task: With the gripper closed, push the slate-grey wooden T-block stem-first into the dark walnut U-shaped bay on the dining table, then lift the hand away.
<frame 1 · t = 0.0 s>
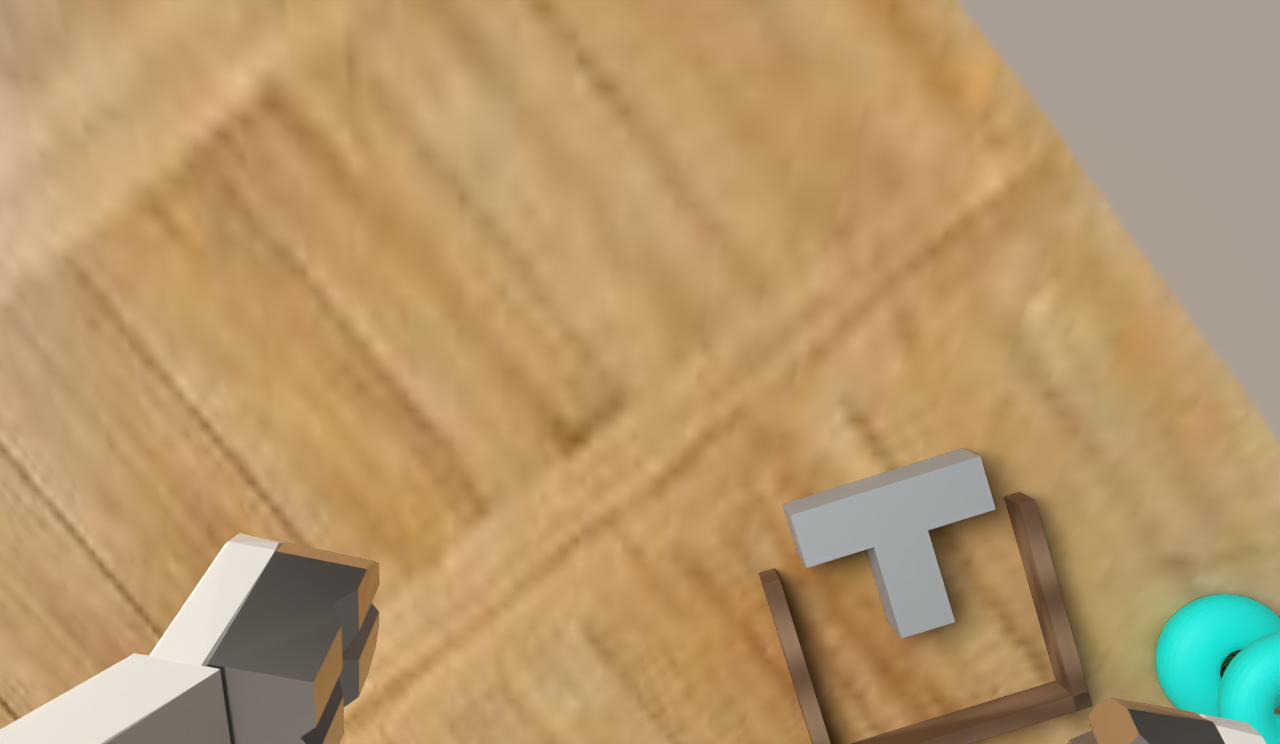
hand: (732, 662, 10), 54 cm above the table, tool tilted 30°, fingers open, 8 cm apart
donuts: (1210, 651, 67), on the table
T-block: (886, 526, 65), on the table
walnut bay: (916, 625, 66), on the table
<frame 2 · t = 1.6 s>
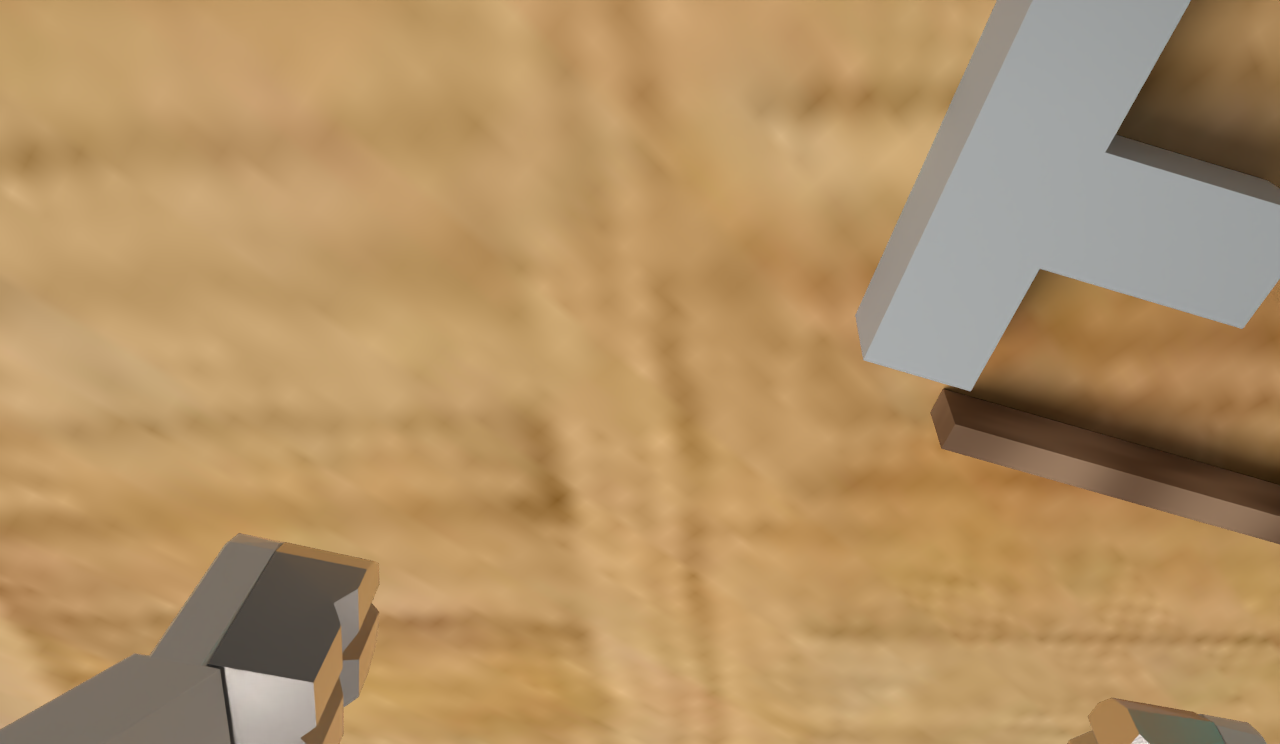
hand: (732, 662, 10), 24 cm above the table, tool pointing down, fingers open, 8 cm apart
T-block: (1041, 176, 30), on the table
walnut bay: (1257, 241, 30), on the table
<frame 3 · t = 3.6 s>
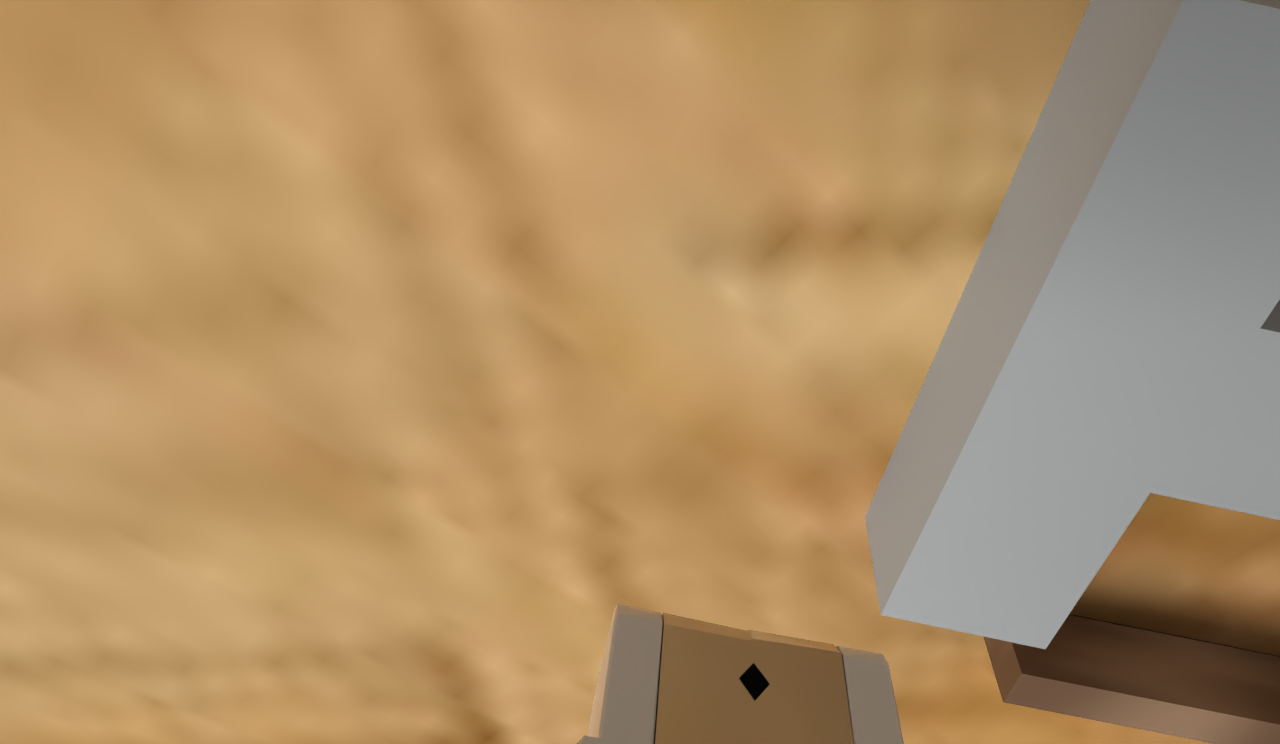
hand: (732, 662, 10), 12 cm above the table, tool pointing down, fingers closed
T-block: (1134, 326, 20), on the table
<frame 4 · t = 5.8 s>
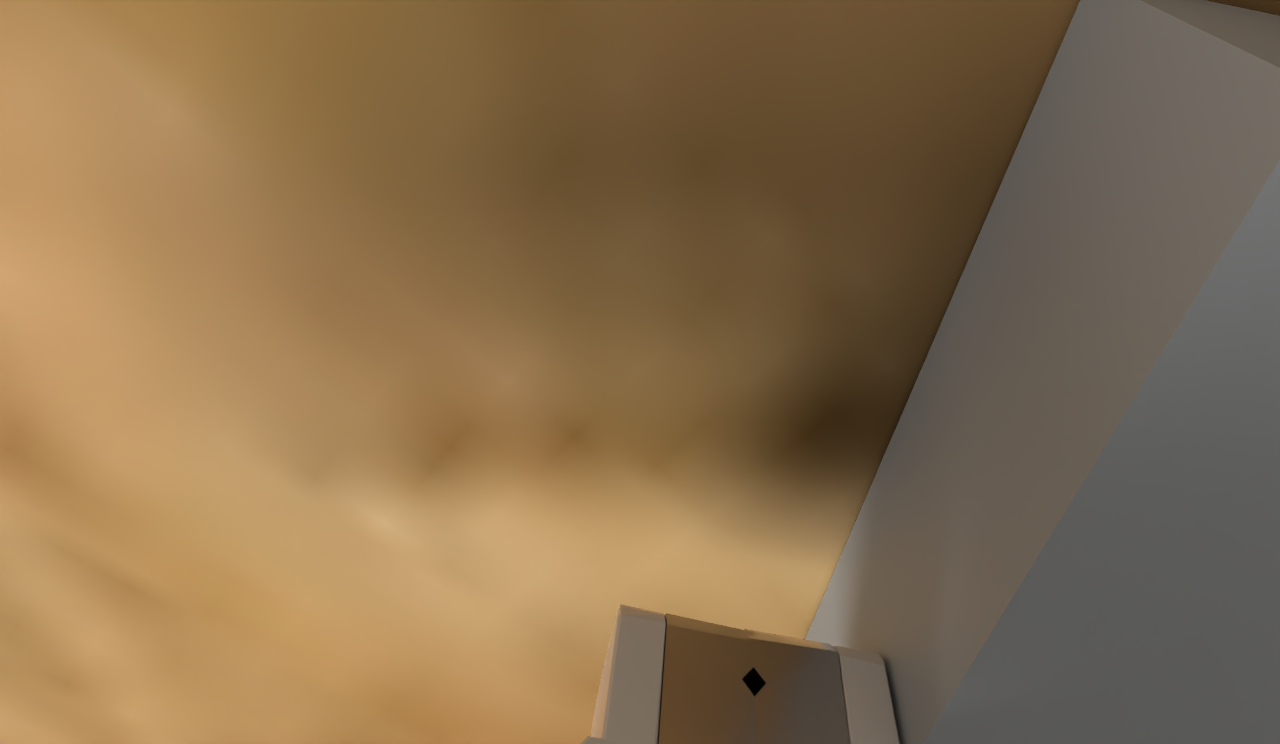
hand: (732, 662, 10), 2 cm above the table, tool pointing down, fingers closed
T-block: (1139, 603, 11), on the table, touching gripper
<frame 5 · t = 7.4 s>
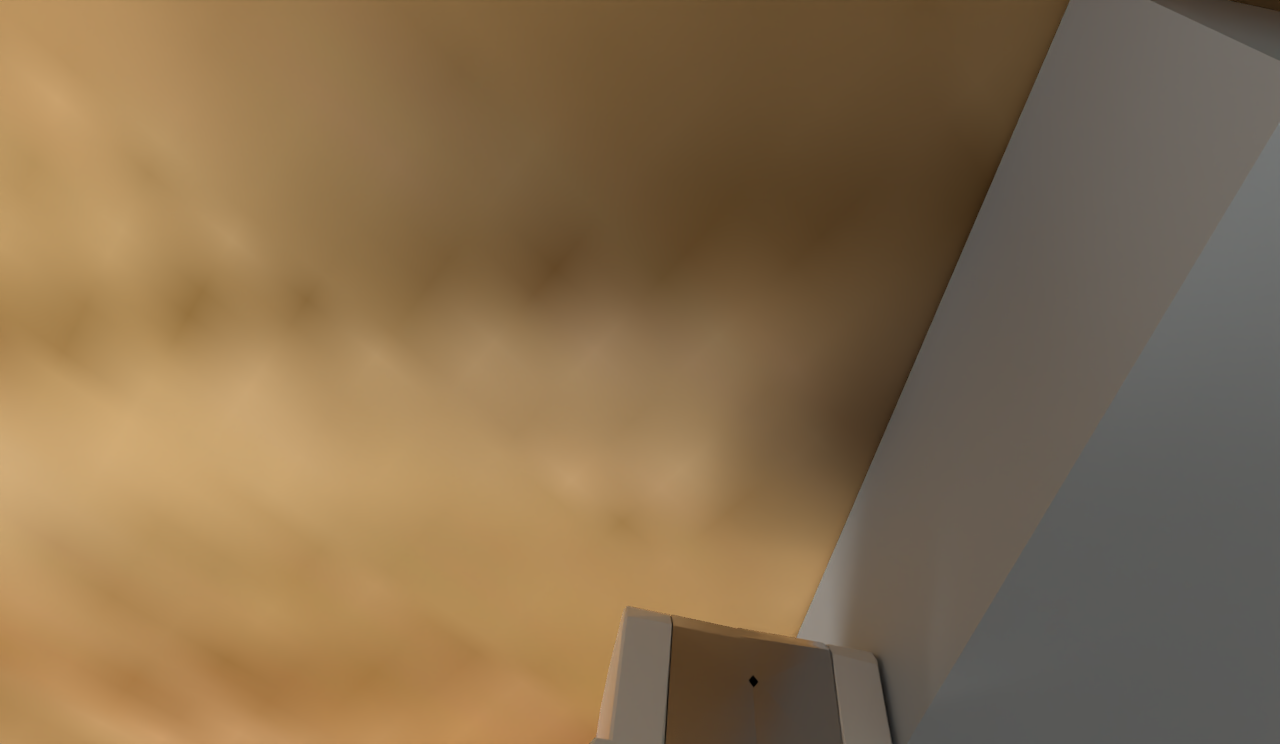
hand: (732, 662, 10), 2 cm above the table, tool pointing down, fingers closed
T-block: (1131, 596, 12), on the table, touching gripper, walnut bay
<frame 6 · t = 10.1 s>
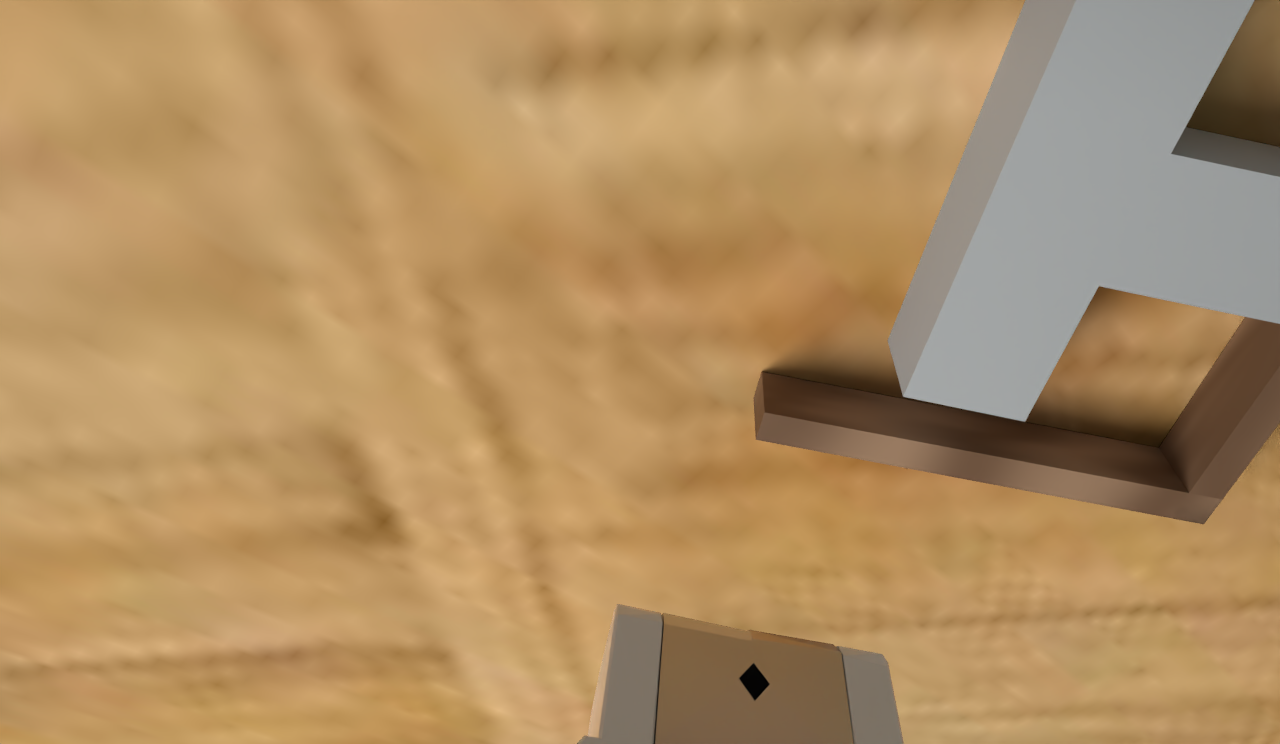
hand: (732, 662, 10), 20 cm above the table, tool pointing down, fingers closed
T-block: (1090, 176, 27), on the table
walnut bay: (1072, 180, 27), on the table
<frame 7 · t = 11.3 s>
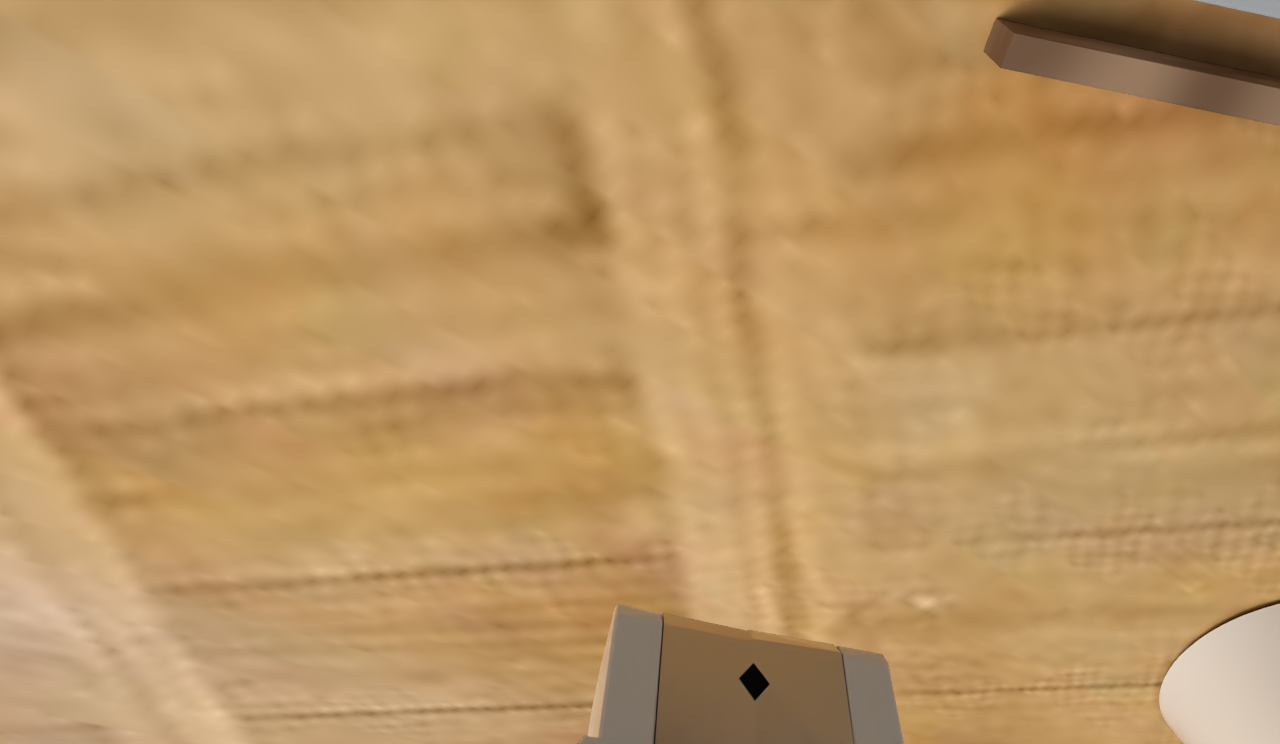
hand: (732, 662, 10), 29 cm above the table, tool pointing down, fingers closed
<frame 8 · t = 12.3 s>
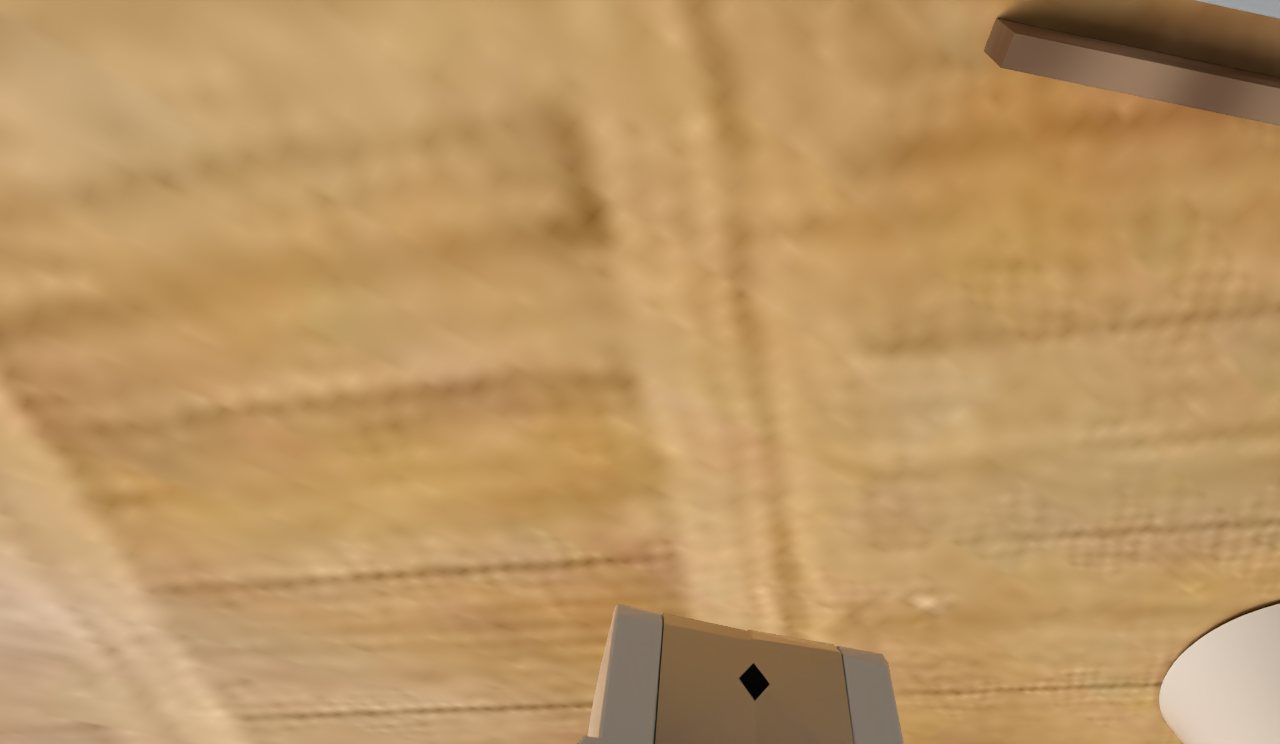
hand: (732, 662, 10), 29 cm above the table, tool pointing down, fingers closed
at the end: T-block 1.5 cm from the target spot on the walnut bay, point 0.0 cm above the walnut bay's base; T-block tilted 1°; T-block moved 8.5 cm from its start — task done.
